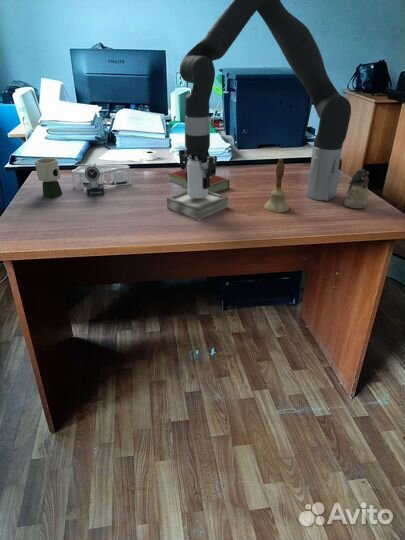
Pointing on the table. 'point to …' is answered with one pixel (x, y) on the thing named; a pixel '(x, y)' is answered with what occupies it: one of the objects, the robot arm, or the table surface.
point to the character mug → (49, 176)
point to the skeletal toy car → (116, 173)
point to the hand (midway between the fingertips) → (197, 185)
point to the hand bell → (278, 193)
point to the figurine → (357, 190)
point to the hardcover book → (215, 181)
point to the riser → (197, 204)
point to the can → (196, 180)
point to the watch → (93, 180)
